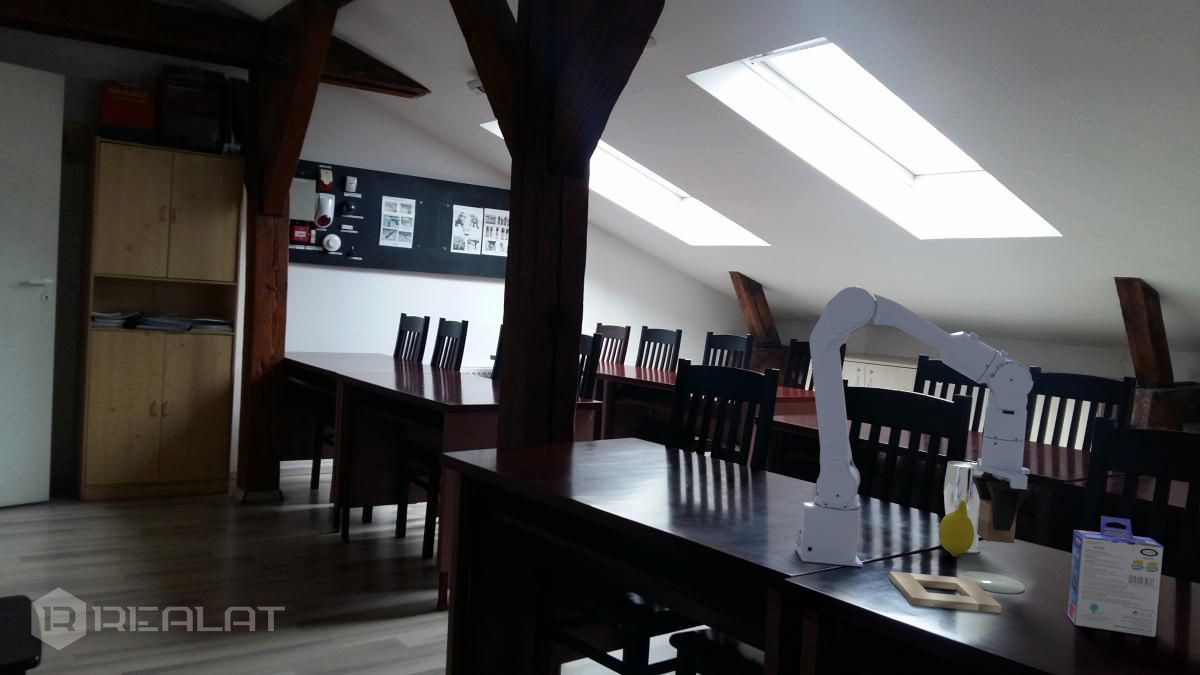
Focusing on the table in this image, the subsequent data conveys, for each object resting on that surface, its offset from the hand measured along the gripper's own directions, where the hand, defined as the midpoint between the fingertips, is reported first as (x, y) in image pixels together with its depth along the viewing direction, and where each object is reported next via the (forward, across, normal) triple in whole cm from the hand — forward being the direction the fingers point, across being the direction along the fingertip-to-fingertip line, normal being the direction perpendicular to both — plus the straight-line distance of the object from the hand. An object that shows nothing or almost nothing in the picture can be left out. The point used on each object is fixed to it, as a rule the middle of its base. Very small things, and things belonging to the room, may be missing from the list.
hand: (996, 526), depth 131 cm
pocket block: (+9, -8, +10) cm, 15 cm away
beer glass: (+9, +20, -2) cm, 22 cm away
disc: (+9, 0, 0) cm, 9 cm away
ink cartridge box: (+9, -15, -10) cm, 20 cm away
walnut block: (+2, 0, 0) cm, 2 cm away
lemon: (+9, +14, +1) cm, 17 cm away
